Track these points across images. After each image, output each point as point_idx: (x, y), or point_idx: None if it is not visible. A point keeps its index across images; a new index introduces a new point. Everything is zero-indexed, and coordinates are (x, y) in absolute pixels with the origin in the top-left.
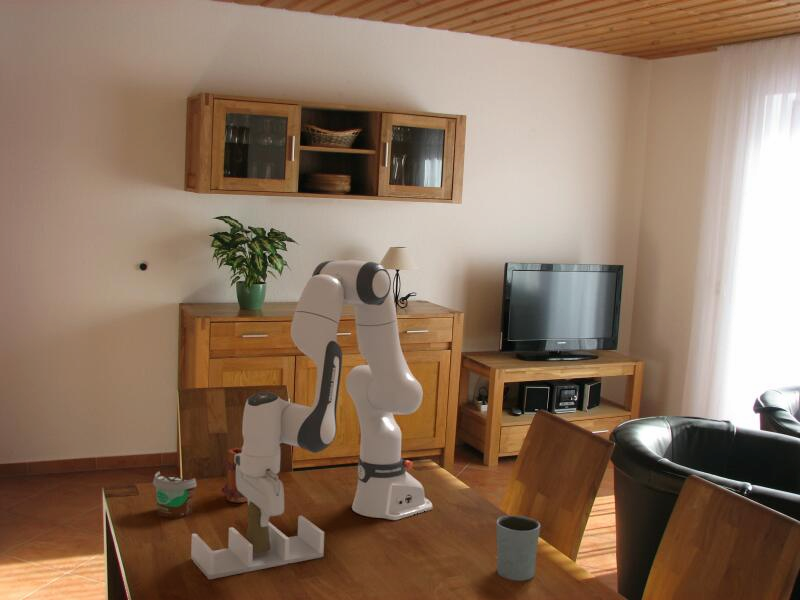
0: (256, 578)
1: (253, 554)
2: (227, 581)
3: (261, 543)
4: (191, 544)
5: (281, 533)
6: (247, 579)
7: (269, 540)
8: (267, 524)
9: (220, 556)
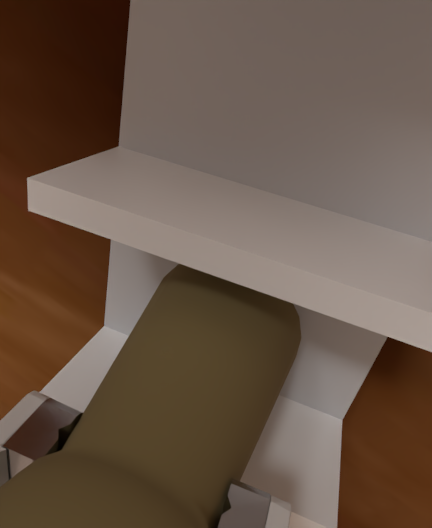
0: (423, 444)
1: None
2: (345, 506)
3: (279, 393)
4: None
5: (315, 287)
6: (396, 466)
7: (261, 314)
8: (287, 517)
9: None
